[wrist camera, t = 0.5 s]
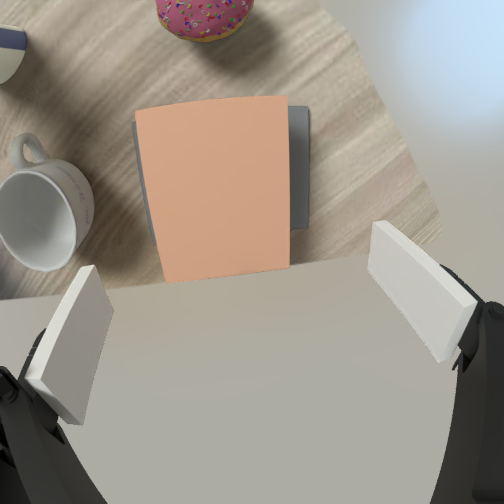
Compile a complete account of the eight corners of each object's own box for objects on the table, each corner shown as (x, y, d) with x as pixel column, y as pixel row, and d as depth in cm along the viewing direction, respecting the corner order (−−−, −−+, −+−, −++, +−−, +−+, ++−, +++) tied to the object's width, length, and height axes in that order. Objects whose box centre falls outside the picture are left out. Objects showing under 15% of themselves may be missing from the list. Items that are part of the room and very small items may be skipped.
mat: (154, 243, 32) (153, 245, 32) (133, 122, 26) (132, 122, 25) (306, 225, 34) (307, 227, 34) (306, 106, 27) (308, 106, 27)
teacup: (106, 241, 31) (84, 278, 24) (34, 238, 29) (4, 270, 22) (103, 121, 25) (71, 129, 18) (24, 129, 23) (-17, 141, 16)
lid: (168, 269, 29) (166, 283, 27) (141, 110, 21) (134, 111, 19) (283, 255, 30) (289, 268, 28) (279, 96, 23) (287, 95, 20)
